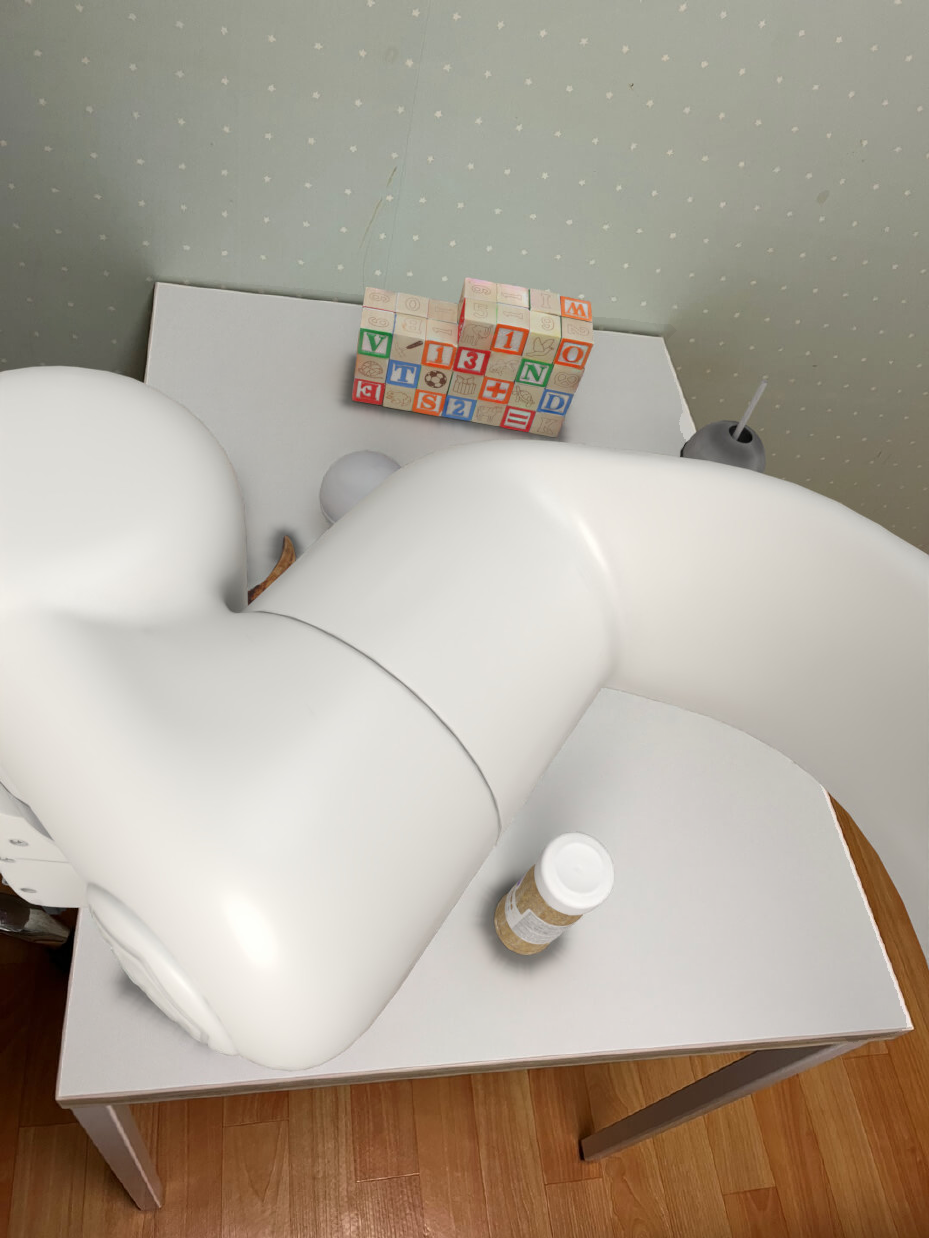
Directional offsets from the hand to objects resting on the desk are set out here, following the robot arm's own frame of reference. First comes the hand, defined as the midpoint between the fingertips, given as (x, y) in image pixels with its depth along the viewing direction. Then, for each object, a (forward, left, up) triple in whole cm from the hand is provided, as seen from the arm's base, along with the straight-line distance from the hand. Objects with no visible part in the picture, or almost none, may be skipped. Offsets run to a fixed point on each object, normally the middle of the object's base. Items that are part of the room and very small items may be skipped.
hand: (171, 880), depth 41 cm
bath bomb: (+29, -25, -18) cm, 42 cm away
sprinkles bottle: (-7, -21, -18) cm, 29 cm away
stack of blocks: (+41, -41, -18) cm, 61 cm away
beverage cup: (+17, -52, -18) cm, 57 cm away
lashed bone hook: (+27, -13, -18) cm, 35 cm away
